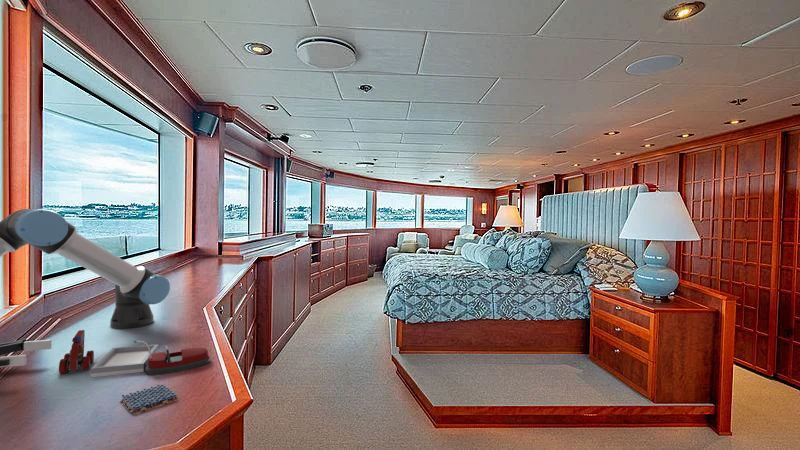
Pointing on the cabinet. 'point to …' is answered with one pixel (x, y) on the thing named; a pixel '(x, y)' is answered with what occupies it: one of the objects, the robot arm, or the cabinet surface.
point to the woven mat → (149, 398)
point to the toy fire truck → (76, 355)
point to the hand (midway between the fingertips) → (39, 351)
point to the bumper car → (175, 360)
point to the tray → (124, 360)
